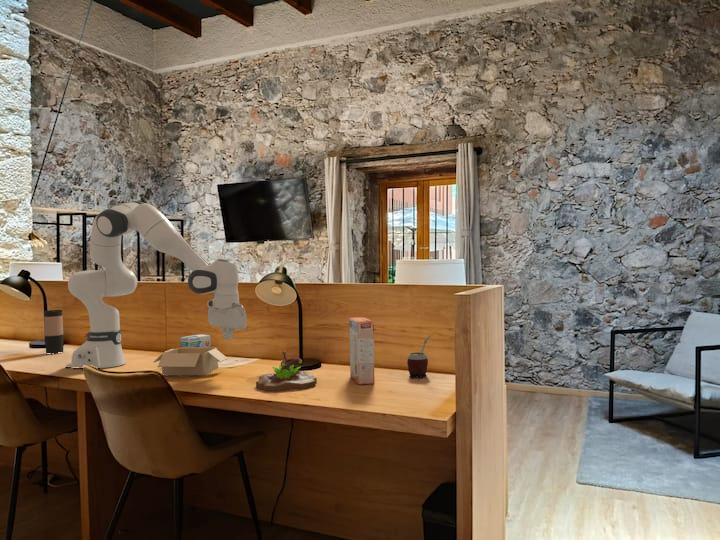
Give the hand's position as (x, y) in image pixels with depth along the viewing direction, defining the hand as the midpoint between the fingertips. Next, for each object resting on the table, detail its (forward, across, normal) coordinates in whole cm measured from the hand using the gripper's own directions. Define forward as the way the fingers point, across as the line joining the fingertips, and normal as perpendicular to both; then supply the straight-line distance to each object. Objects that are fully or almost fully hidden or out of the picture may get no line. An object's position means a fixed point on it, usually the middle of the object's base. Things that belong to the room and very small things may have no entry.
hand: (227, 339), depth 209 cm
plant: (+12, -33, 0) cm, 35 cm away
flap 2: (+4, +5, +4) cm, 8 cm away
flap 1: (+4, +8, +14) cm, 17 cm away
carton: (+12, +15, +8) cm, 21 cm away
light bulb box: (+13, +29, -4) cm, 32 cm away
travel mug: (+13, +105, +25) cm, 109 cm away
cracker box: (+12, -50, -20) cm, 55 cm away
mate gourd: (+12, -62, -36) cm, 73 cm away
